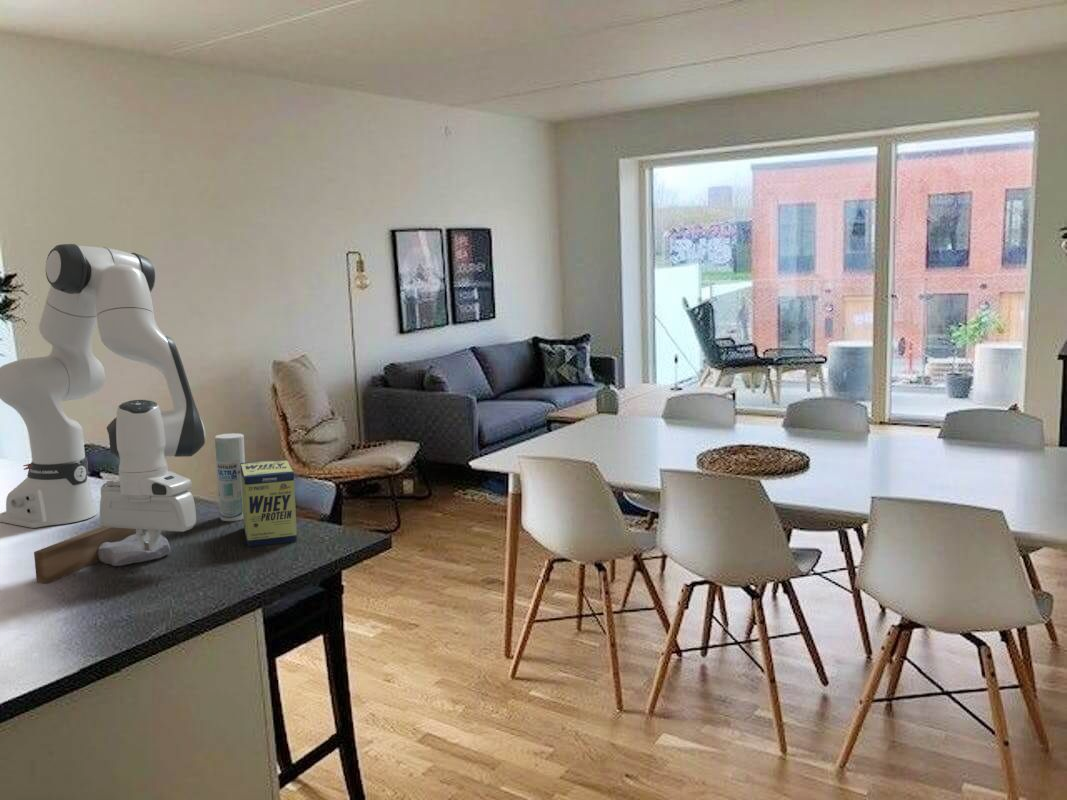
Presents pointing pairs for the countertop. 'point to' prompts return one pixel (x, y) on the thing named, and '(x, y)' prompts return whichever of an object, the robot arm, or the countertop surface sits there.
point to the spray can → (230, 475)
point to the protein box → (268, 502)
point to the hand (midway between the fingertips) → (149, 549)
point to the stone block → (131, 551)
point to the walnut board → (75, 552)
